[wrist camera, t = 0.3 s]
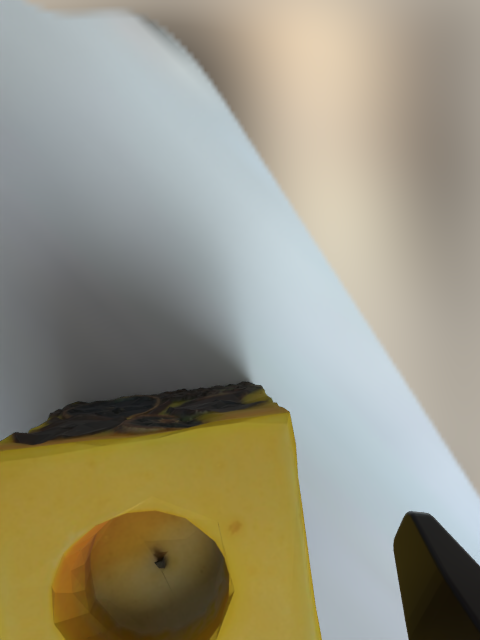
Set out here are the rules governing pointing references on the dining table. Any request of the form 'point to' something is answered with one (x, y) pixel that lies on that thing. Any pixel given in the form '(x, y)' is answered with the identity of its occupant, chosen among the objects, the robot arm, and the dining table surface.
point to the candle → (156, 522)
